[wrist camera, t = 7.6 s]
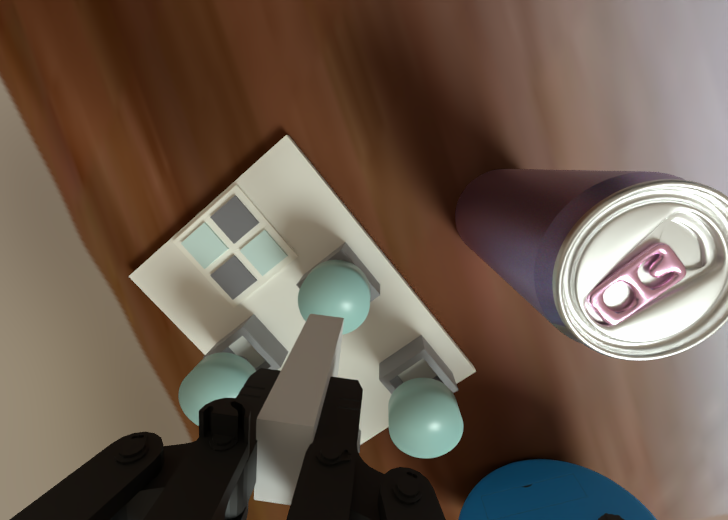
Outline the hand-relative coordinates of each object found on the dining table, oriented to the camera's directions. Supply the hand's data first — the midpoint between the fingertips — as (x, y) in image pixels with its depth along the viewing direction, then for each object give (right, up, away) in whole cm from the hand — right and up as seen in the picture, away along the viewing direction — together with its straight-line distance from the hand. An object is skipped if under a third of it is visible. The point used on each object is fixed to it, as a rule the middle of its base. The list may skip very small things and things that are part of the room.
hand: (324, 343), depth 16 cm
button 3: (+6, -5, +9) cm, 12 cm away
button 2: (-7, -4, +10) cm, 12 cm away
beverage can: (+11, +7, +9) cm, 16 cm away
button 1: (0, +2, +10) cm, 10 cm away
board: (-3, -1, +12) cm, 12 cm away
